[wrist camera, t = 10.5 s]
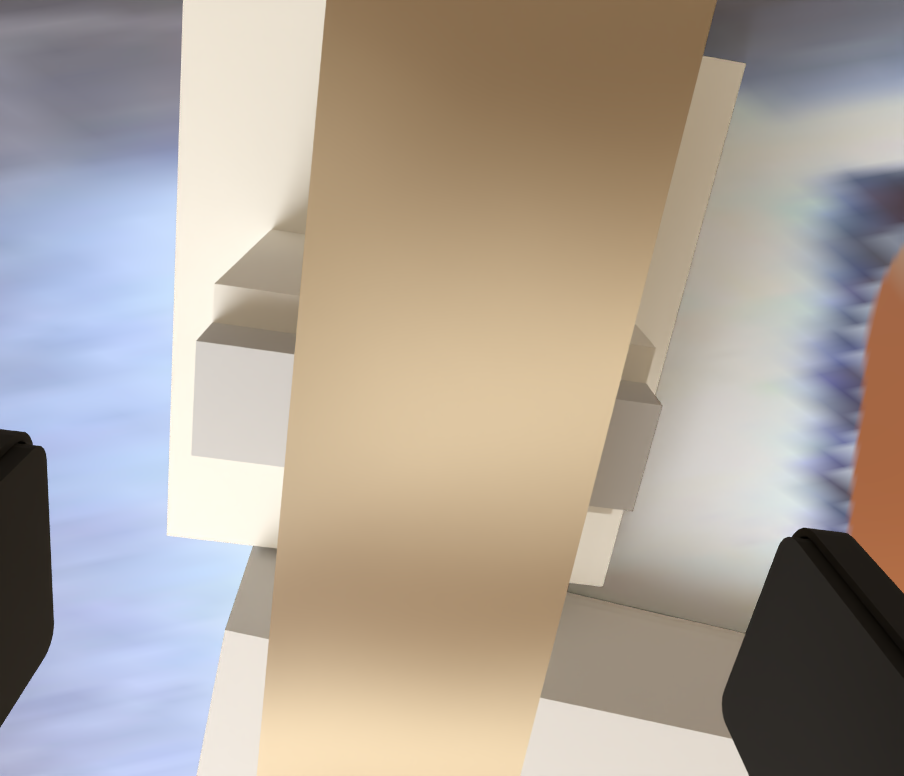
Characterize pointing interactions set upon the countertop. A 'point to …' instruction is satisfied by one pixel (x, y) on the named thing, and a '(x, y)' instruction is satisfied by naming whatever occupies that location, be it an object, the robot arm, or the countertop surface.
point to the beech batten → (459, 362)
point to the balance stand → (280, 268)
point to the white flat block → (562, 698)
